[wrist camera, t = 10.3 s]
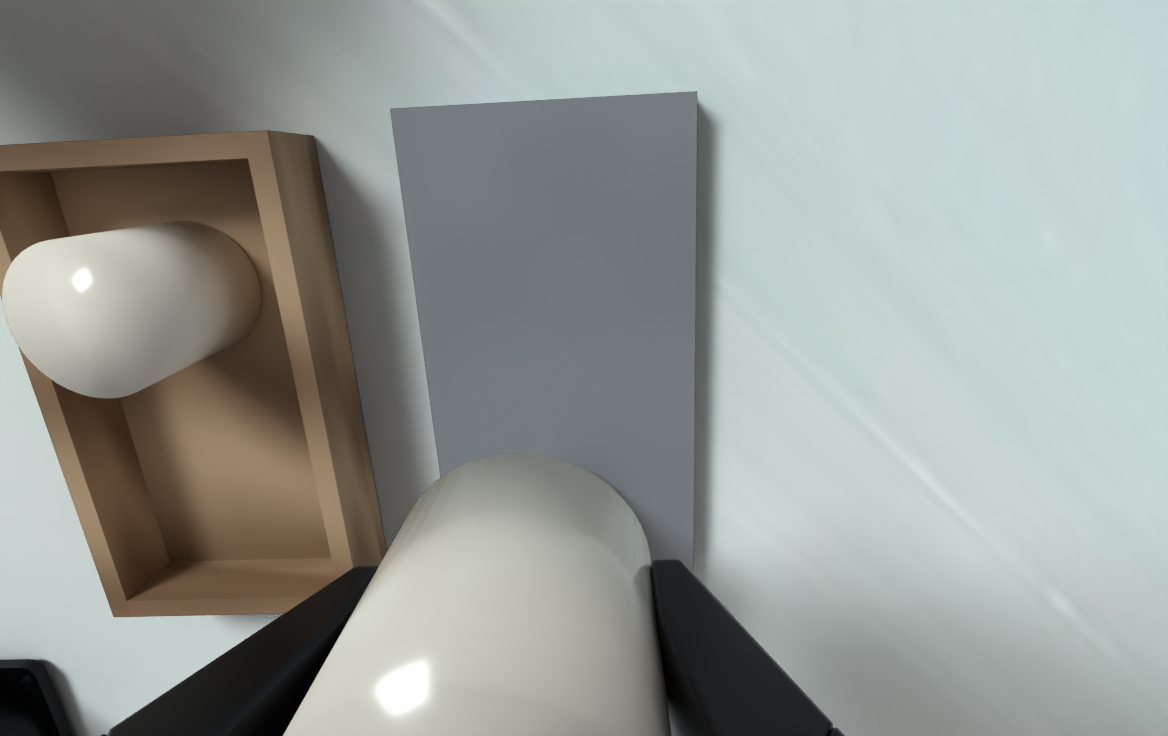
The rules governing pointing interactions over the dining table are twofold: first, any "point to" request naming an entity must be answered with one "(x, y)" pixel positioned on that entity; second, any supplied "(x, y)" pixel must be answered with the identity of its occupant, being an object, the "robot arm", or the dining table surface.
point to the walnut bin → (211, 383)
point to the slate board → (561, 288)
